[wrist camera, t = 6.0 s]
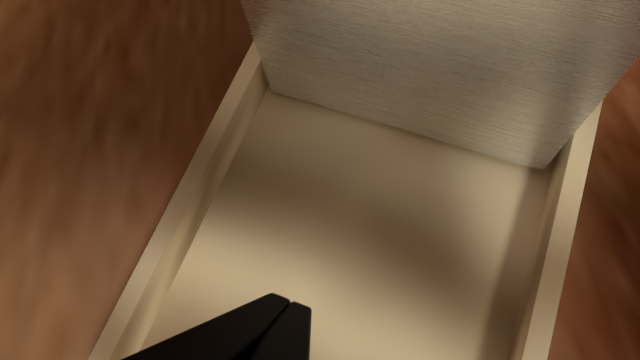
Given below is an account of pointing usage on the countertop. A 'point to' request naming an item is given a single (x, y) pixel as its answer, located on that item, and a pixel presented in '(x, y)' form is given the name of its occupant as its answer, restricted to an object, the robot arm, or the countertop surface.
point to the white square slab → (453, 64)
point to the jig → (357, 235)
